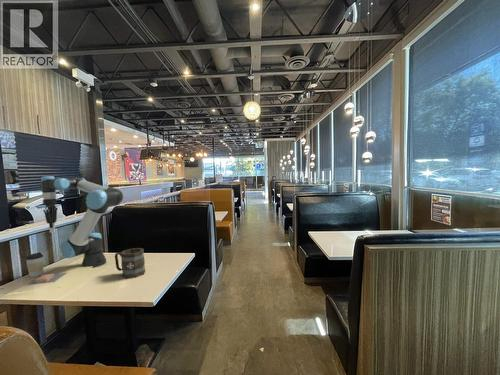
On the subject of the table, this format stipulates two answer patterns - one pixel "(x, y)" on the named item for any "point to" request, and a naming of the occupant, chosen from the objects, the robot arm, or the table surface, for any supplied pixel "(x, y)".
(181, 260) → the table surface
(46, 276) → the tile
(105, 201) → the robot arm
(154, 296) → the table surface
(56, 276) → the board
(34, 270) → the coffee cup
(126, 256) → the mug
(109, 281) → the table surface
